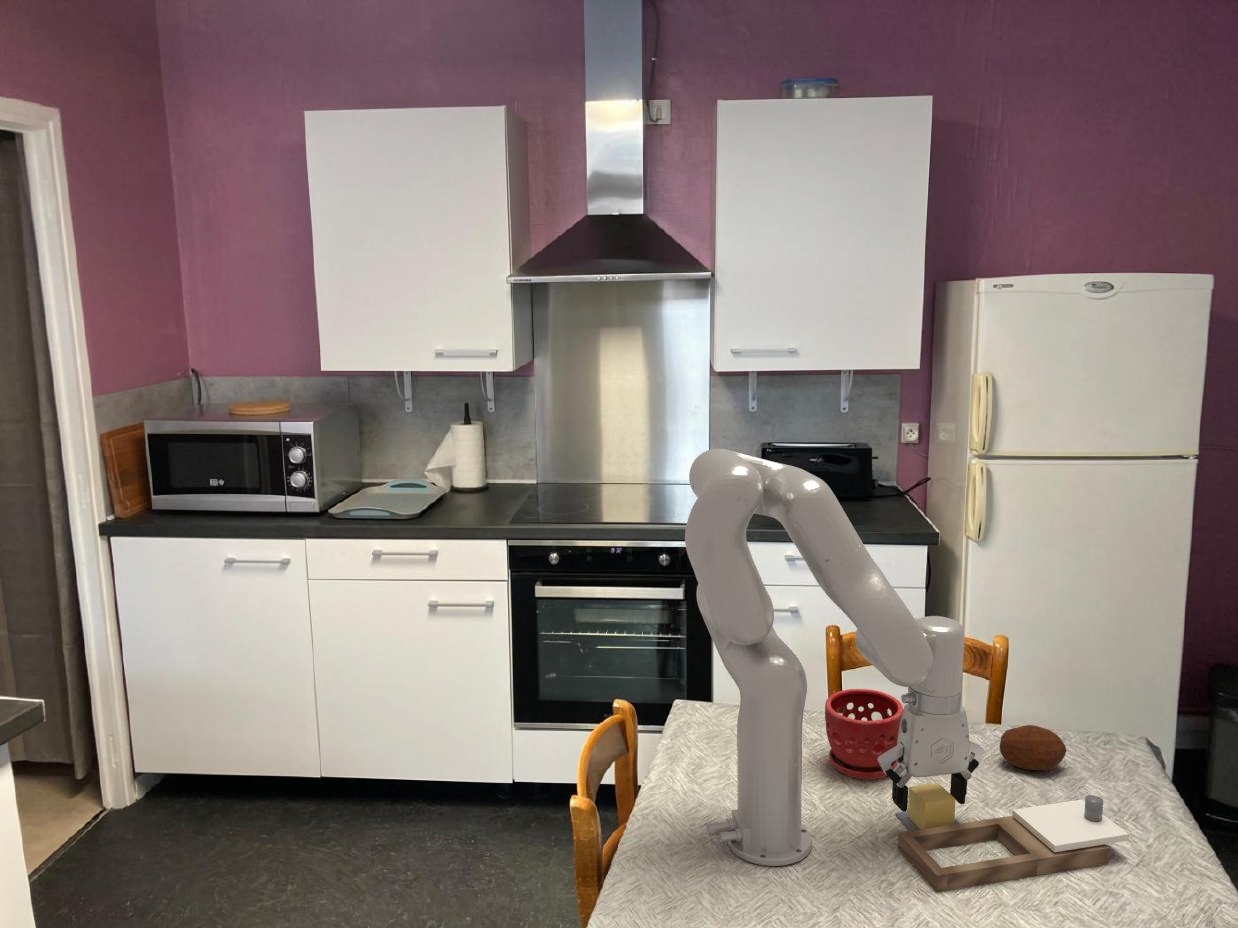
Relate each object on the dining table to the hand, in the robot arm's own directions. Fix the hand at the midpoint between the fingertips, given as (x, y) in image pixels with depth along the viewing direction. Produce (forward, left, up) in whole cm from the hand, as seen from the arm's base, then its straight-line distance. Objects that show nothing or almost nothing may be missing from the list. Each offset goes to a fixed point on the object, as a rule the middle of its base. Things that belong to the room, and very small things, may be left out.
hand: (928, 803), depth 150 cm
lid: (+17, -10, -1) cm, 20 cm away
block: (0, 0, -3) cm, 3 cm away
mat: (+1, 0, -4) cm, 4 cm away
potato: (+27, +12, -4) cm, 30 cm away
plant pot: (-1, +19, -4) cm, 20 cm away
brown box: (+6, -10, -4) cm, 12 cm away
